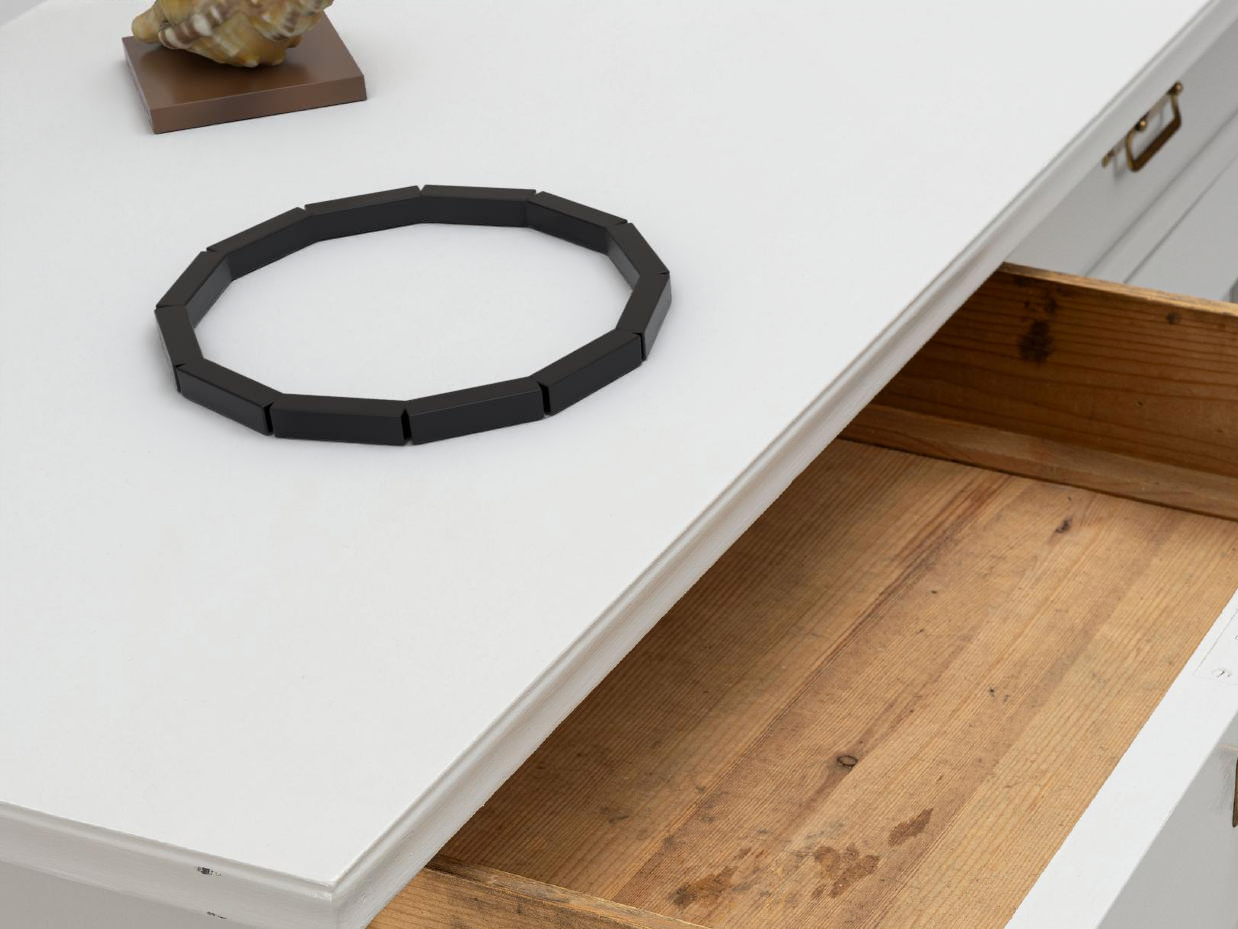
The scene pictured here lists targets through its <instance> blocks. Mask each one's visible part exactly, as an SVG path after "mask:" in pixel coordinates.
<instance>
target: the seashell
mask: <svg viewBox="0 0 1238 929" xmlns="http://www.w3.org/2000/svg"><path fill="white" fill-rule="evenodd" d="M334 1H335V0H155V1H154V2H153V4H152V5H151V7H150V8H148V9H146V11H145V10H144V12H143V13H141V14H139V15H136V16H135V18H134V19H132V21H131V25H130V31H131V33H132V36H135V38H136V39H137V40H140V41H142V42H145V43H147V44H155V43H163V45H164V46H166V47H168V48H171V49H180V48H181V49H186V50H187V51H190V52H193V53H197V54H200V55H202V56H204V57H208V58H211V59H212V60H214V61H216V62H218V63H228V64H231V65H233V66H237V67H241V66H245V67H256V66H257V65H258V64H265V65H270V66H274V65H278V64H281V63H282V62H283V61H284V59H285V51H286V49H288V48H295V47H297V46H299V45H300V44H301V42H302V39H303V33H306V32H308V31H310V30H312V29H313V27H314V25H315V24H316V23H318V22H319V21H320V20H321V17H322V12H323V10H324V11H325V10H326V9H327V8H329V7H331V6H333V4H334Z"/></svg>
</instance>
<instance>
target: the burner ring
mask: <svg viewBox="0 0 1238 929" xmlns="http://www.w3.org/2000/svg"><path fill="white" fill-rule="evenodd" d="M423 222H424V223H440V224H442V223H443V224H466V225H481V226H482V225H483V226H484V225H485V226H503V227H504V226H506V227H507V226H508V227H527V228H528V227H529V228H531V229H534V230H537V231H540V232H542V233H546V234H548V235H551V236H554V237H556V238H560V239H562V240H565V241H568V242H571V243H574V244H577V245H579V246H582V247H585V248H587V249H591V250H594V251H595V252H599V253H602V254H605V255H607V256H608V257H609V258H610V260H611V261H612V262H613V264H614V265H615V266H616V268H617V269H618V271H619V272H620V273H621V275H622V276H623V277H624V279H625V281H627V283H628V284H629V286H630V287H631V289H632V291H631V293H630V295H629V298H628V300H627V302H626V304H625V305H624V308H623V310H622V313H621V315H620V317H619V319H618V321H617V323H616V325H615V327H614V328H613V329H611V330H610V331H608V332H606V333H604V334H602V335H600V336H599V337H597V338H595V339H593V340H591V341H589V342H587V343H586V344H584V345H583V346H582V345H581V346H580V347H579V348H577V349H575V350H573V351H572V352H569V353H568V354H566V355H564V356H562V357H560V358H558V359H557V360H555V361H553V362H551V363H549V364H548V365H546V366H544V367H543V368H540V369H539V370H537V371H535V372H534V373H532V374H530V375H528V376H522V377H518V378H517V377H516V378H513V379H507V380H502V381H498V382H492V383H487V384H482V385H478V386H471V387H468V388H462V389H457V390H451V391H447V392H442V393H437V394H432V395H427V396H422V397H416V398H412V399H406V400H403V399H402V400H400V399H386V398H371V397H370V398H367V397H352V396H351V397H350V396H337V395H336V396H335V395H333V396H332V395H317V394H304V393H303V394H302V393H286V392H282V391H280V390H277V389H275V388H272V387H270V386H269V385H267V384H264V383H262V382H259V381H257V380H255V379H253V378H250V377H249V376H246V375H244V374H242V373H240V372H237V371H234V370H233V369H230V368H228V367H226V366H223V365H221V364H220V363H216V362H215V361H213V360H210V359H208V358H206V357H205V356H204V354H203V351H202V349H201V348H202V347H201V345H200V343H199V340H198V337H197V335H196V332H195V327H196V326H197V324H198V323H199V322H200V321H201V319H202V318H203V317H204V316H205V314H206V313H207V312H208V311H209V310H210V308H211V307H212V306H213V305H214V303H215V302H216V301H217V299H218V298H219V297H220V296H221V294H222V293H223V292H224V290H225V289H226V288H227V287H228V286H229V284H231V282H232V281H233V280H235V279H237V278H240V277H241V276H244V275H246V274H248V273H251V272H252V271H255V270H257V269H259V268H261V267H263V266H265V265H267V264H270V263H272V262H274V261H277V260H278V259H280V258H283V257H285V256H287V255H289V254H291V253H294V252H296V251H298V250H300V249H301V248H304V247H307V246H309V245H311V244H313V243H316V242H317V241H322V240H328V239H333V238H339V237H345V236H351V235H357V234H362V233H368V232H373V231H379V230H384V229H390V228H397V227H401V226H406V225H407V226H408V225H412V224H419V223H423ZM670 272H671V271H670V269H669V268H668V267H667V265H666V264H665V263H664V262H663V260H662V259H661V258H660V257H659V255H658V254H657V252H656V251H655V250H654V249H653V248H652V246H651V245H650V244H649V242H648V241H647V239H645V237H644V236H643V235H642V233H641V232H640V231H639V229H638V228H637V227H636V225H635V224H634V222H629V221H628V219H626V218H624V217H621V216H618V215H615V214H612V213H610V212H606V211H602V210H601V209H598V208H594V207H592V206H590V205H589V206H588V205H585V204H582V203H580V202H577V201H574V200H572V199H568V198H566V197H563V196H560V195H556V194H554V193H551V192H548V191H544V190H541V191H538V192H537V189H535V188H517V187H516V188H515V187H513V188H512V187H493V186H491V187H489V186H471V185H470V186H469V185H445V184H424V185H423V187H422V188H420V187H419V185H417V184H415V185H409V186H404V187H399V188H392V189H386V190H381V191H375V192H370V193H364V194H358V195H353V196H352V195H351V196H347V197H340V198H334V199H330V200H324V201H318V202H311V203H306V204H304V206H303V208H302V207H299V206H295V207H293V208H291V209H289V210H286V211H284V212H282V213H280V214H278V215H276V216H274V217H271V218H269V219H266V220H264V221H262V222H260V223H257V224H256V225H253V226H251V227H249V228H246V229H244V230H242V231H240V232H237V233H236V234H233V235H230V236H228V237H227V238H224V239H222V240H219V241H218V242H216V243H213V244H210V245H208V246H206V247H205V250H201V251H200V252H199V253H198V254H197V255H195V257H194V259H193V260H192V261H191V262H190V263H189V264H188V266H187V267H186V268H185V269H184V271H183V272H182V273H181V274H180V275H179V277H178V278H177V279H176V280H175V282H174V283H172V285H171V286H170V287H169V288H168V290H167V291H166V292H165V293H164V294H163V296H162V297H161V298H160V299H159V301H157V302H156V304H155V309H153V314H154V319H155V323H156V328H157V332H158V336H159V340H160V342H161V345H162V349H163V352H164V354H165V355H164V356H165V358H166V360H167V364H168V367H169V370H170V372H171V376H172V379H173V382H174V384H175V388H176V391H177V392H178V393H181V395H182V396H183V397H184V398H187V399H189V400H190V401H192V402H195V403H197V404H199V405H201V406H203V407H206V408H208V409H210V410H212V411H215V412H216V413H219V414H221V415H222V416H225V417H227V418H230V419H232V420H234V421H236V422H238V423H239V424H243V425H245V426H247V427H249V428H251V429H253V430H255V431H257V432H260V433H261V434H264V435H271V434H272V433H273V434H274V437H275V438H285V439H299V440H300V439H301V440H316V441H317V440H318V441H333V442H345V443H346V442H348V443H364V444H379V445H395V446H405V445H406V443H407V441H408V440H409V439H410V441H411V443H412V444H413V445H419V444H424V443H429V442H433V441H438V440H443V439H447V438H453V437H458V436H463V435H468V434H472V433H478V432H482V431H486V430H487V431H488V430H492V429H496V428H502V427H506V426H512V425H516V424H522V423H527V422H531V421H536V420H542V419H544V418H545V414H548V415H550V416H554V415H555V414H557V413H559V412H561V411H562V410H564V409H566V408H568V407H570V406H571V405H573V404H575V403H577V402H578V401H580V400H582V399H583V398H585V397H586V396H589V395H591V394H592V393H594V392H595V391H597V390H599V389H601V388H603V387H604V386H606V385H608V384H609V383H612V382H613V381H615V380H616V379H618V378H620V377H622V376H624V375H625V374H627V373H629V372H630V371H632V370H634V369H636V368H638V367H639V366H641V365H642V364H643V361H645V360H647V358H648V356H649V353H650V351H651V349H652V347H653V344H654V343H655V340H656V337H657V335H658V333H659V331H660V328H661V326H662V324H663V323H664V319H665V317H666V315H667V313H668V311H669V308H670V305H671V304H672V300H673V298H672V297H673V296H672V282H671V281H672V280H671V273H670Z"/></svg>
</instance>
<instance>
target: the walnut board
mask: <svg viewBox="0 0 1238 929" xmlns="http://www.w3.org/2000/svg"><path fill="white" fill-rule="evenodd" d="M121 43H122V48H123V53H124V57H125V62H126V64H127V67H128V69H129V71H130V74H131V76H132V80H133V82H134V84H135V87H136V90H137V92H138V95H139V97H140V99H141V102H142V105H143V108H144V109H145V112H146V116H147V117H148V120H149V123H150V125H151V128H152V131H153V133H154V134H161V133H166V132H172V131H180V130H186V129H191V128H199V127H203V126H211V125H217V124H222V123H228V122H229V123H230V122H235V121H240V120H247V119H253V118H254V119H255V118H259V117H266V116H273V115H278V114H284V113H290V112H297V111H303V110H309V109H315V108H321V107H322V108H323V107H327V106H334V105H339V104H340V105H341V104H346V103H352V102H360V101H364V100H368V93H367V86H366V80H365V75H364V73H363V72H362V70H361V68H360V67H359V65H358V63H357V62H356V60H355V58H354V57H353V55H352V54H351V52H350V51H349V49H348V47H347V46H346V44H345V43H344V41H343V39H342V38H341V36H340V34H339V32H338V31H337V30H336V28H335V26H334V25H333V23H332V22H331V20H330V17H328V15H327V13H326V12H325V9H324V10H323V12H322V17H321V20H320V21H319V22H318V23H316V24H315V25H314V27H313V29H312V30H310V31H308V32H306V33H303V39H302V42H301V44H300V45H299V46H297V47H295V48H288V49H286V51H285V59H284V61H283V62H282V63H281V64H278V65H274V66H270V65H265V64H258V65H257V66H256V67H245V66H241V67H237V66H233V65H231V64H228V63H218V62H216V61H214V60H212V59H211V58H208V57H204V56H202V55H200V54H197V53H193V52H190V51H187V50H186V49H181V48H180V49H171V48H168V47H166V46H164V45H163V43H155V44H147V43H145V42H142V41H140V40H137V39H136V38H135V36H134V35H128V36H123V37H121Z"/></svg>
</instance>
